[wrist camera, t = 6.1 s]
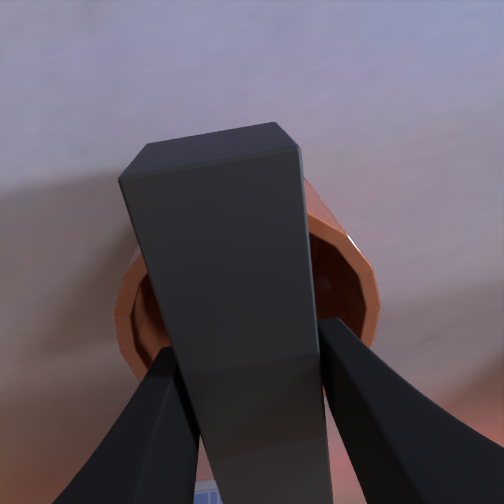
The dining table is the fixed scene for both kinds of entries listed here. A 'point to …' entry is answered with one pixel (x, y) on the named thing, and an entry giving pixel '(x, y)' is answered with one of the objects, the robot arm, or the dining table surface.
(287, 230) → the black bar
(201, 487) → the ramen bowl
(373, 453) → the robot arm
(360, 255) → the cup
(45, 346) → the dining table surface
